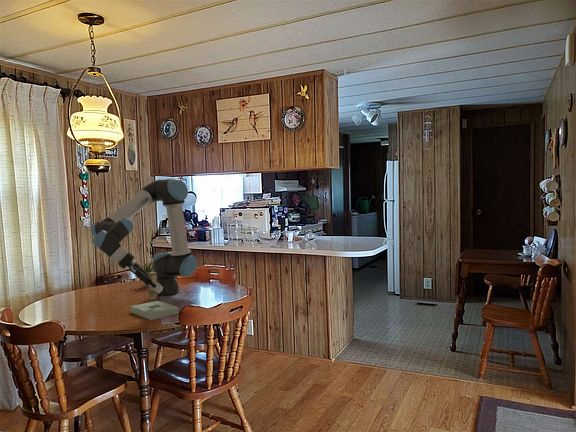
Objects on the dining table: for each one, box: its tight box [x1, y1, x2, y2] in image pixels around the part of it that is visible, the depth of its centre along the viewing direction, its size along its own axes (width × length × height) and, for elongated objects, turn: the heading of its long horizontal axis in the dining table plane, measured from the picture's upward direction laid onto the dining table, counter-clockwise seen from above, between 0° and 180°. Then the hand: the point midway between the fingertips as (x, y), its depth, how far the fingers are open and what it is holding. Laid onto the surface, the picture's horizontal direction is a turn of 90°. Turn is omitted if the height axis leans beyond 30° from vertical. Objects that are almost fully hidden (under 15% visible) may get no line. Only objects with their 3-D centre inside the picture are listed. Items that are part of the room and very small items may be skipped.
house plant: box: [140, 260, 154, 288], centre depth 275 cm, size 14×14×16 cm
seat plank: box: [130, 300, 180, 321], centre depth 209 cm, size 20×14×3 cm
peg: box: [147, 271, 158, 300], centre depth 208 cm, size 4×4×12 cm
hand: (161, 290), depth 209 cm, fingers closed on peg, 4 cm apart
